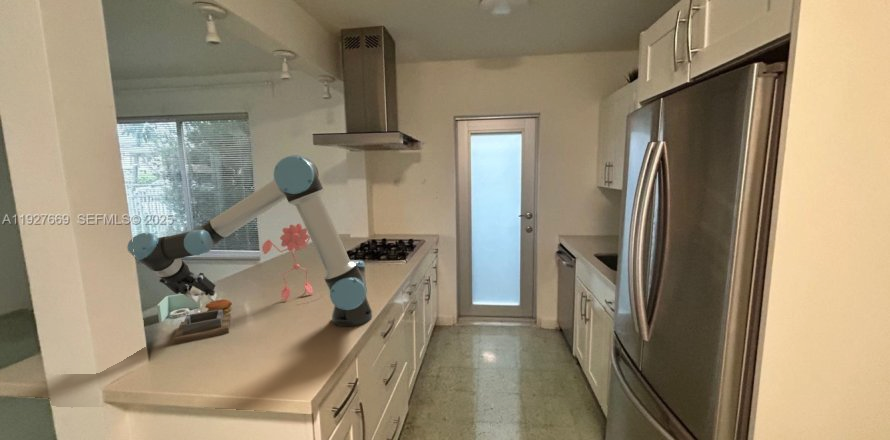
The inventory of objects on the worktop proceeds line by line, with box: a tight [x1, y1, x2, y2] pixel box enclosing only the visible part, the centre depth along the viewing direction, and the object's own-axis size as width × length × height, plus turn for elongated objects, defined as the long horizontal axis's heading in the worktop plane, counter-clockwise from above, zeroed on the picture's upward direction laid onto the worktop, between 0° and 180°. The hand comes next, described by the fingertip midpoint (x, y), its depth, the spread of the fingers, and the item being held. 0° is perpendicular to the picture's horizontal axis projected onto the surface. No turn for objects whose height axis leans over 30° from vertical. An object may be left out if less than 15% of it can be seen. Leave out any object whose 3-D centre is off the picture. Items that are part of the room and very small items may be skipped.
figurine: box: [261, 222, 322, 306], centre depth 157 cm, size 15×26×35 cm, turn 131°
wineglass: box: [188, 285, 208, 314], centre depth 128 cm, size 6×6×12 cm
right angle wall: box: [156, 293, 203, 323], centre depth 146 cm, size 12×12×8 cm
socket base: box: [173, 309, 232, 345], centre depth 130 cm, size 16×16×5 cm
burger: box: [204, 298, 233, 314], centre depth 147 cm, size 10×9×5 cm
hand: (206, 298), depth 132 cm, fingers closed on wineglass, 6 cm apart
